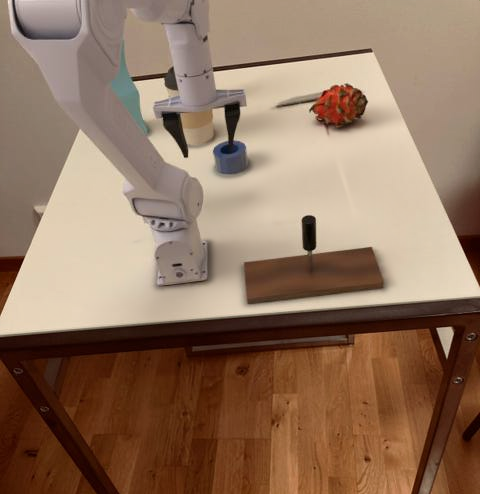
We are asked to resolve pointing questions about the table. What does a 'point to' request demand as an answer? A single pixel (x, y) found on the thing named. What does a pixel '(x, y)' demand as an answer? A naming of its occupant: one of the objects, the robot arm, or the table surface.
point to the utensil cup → (230, 157)
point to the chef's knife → (302, 99)
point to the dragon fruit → (340, 105)
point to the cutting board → (312, 275)
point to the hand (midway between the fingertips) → (208, 151)
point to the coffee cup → (191, 116)
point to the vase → (128, 92)
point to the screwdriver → (309, 237)
